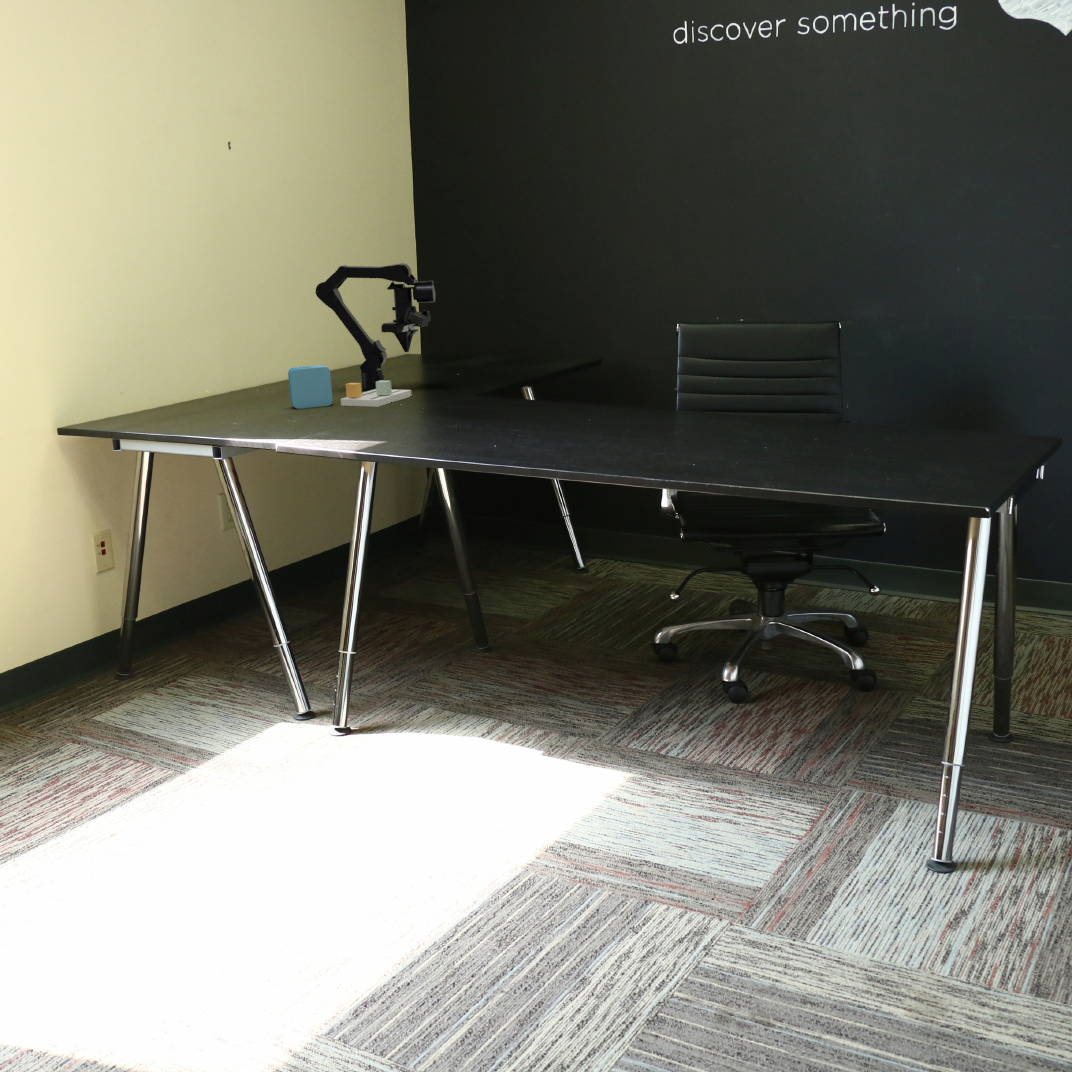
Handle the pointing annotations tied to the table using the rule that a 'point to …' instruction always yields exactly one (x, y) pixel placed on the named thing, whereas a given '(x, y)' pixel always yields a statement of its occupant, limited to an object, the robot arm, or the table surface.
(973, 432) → the table surface
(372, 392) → the mixer console
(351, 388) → the amber fader
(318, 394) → the blue rounded block
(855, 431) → the table surface
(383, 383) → the sage fader
